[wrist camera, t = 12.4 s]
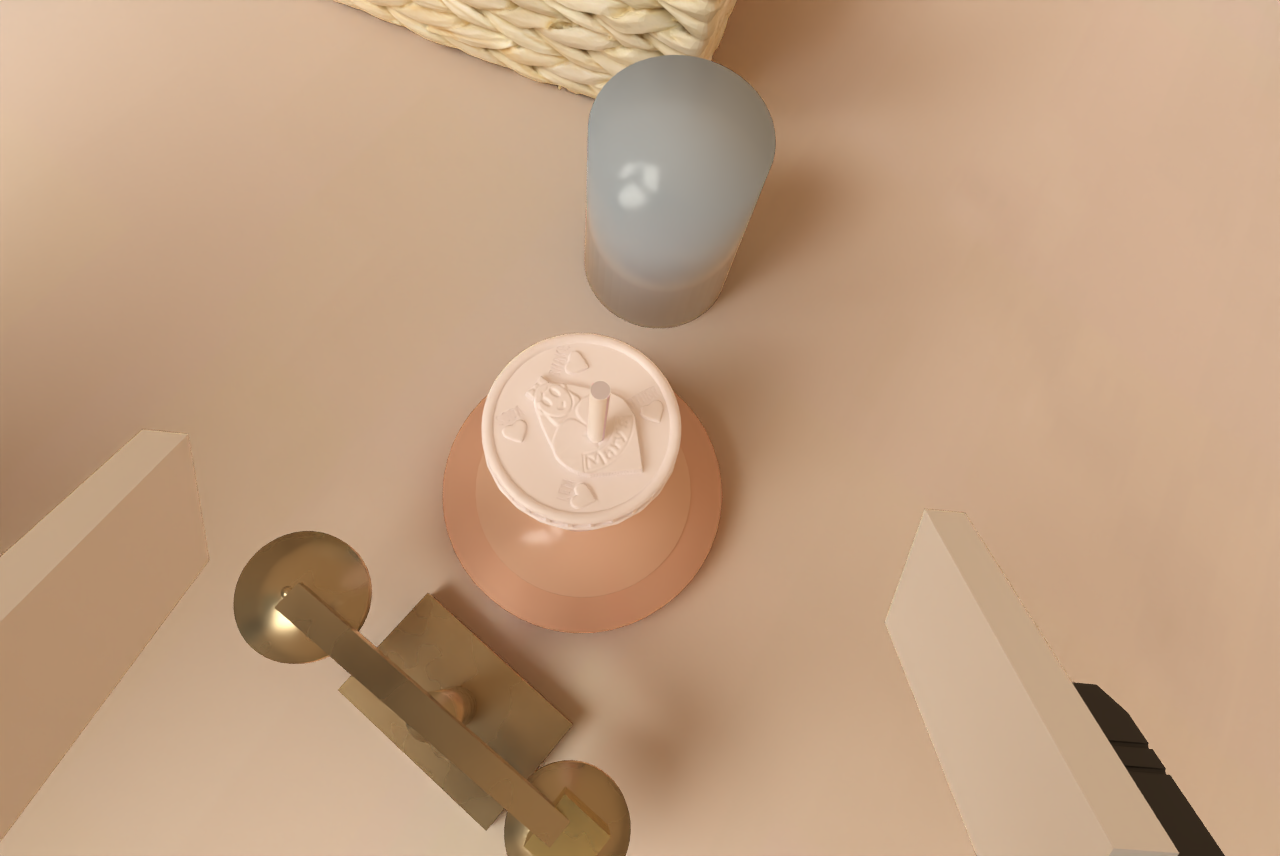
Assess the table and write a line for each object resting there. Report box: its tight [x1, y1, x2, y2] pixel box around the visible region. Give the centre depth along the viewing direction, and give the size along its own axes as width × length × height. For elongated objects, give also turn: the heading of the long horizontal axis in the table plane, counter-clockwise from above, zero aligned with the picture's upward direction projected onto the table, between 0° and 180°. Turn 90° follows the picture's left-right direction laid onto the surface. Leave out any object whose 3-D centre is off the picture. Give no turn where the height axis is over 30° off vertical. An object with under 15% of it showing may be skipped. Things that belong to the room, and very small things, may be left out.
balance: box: [234, 531, 631, 856], centre depth 29 cm, size 16×5×9 cm, turn 50°
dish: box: [443, 391, 722, 633], centre depth 35 cm, size 12×12×1 cm
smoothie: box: [481, 333, 681, 532], centre depth 28 cm, size 6×6×14 cm
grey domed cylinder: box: [585, 55, 776, 328], centre depth 35 cm, size 7×7×10 cm
